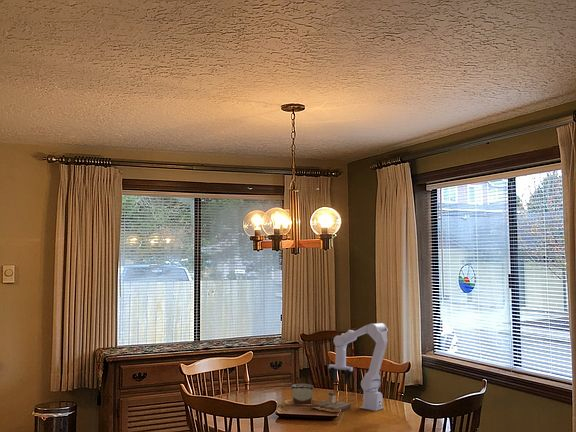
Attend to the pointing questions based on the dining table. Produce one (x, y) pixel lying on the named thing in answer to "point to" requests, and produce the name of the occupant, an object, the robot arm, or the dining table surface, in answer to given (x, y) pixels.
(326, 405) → the holder block
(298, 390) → the food container
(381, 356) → the robot arm
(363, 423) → the dining table surface
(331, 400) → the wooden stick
